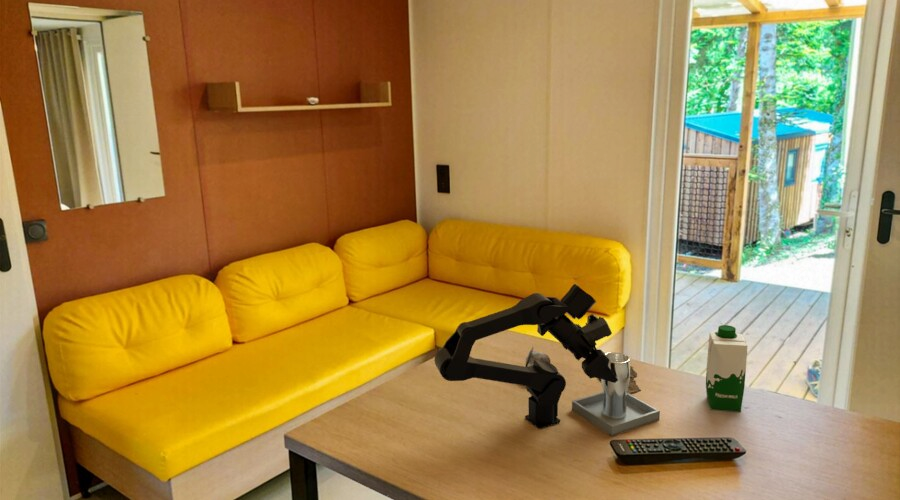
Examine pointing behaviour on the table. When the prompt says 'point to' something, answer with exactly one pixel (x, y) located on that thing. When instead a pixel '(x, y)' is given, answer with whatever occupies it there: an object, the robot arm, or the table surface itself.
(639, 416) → the tray
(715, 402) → the milk carton
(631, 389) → the wooden fragment
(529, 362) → the caster wheel
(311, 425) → the table surface
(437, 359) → the robot arm
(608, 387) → the metal tumbler
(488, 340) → the table surface
